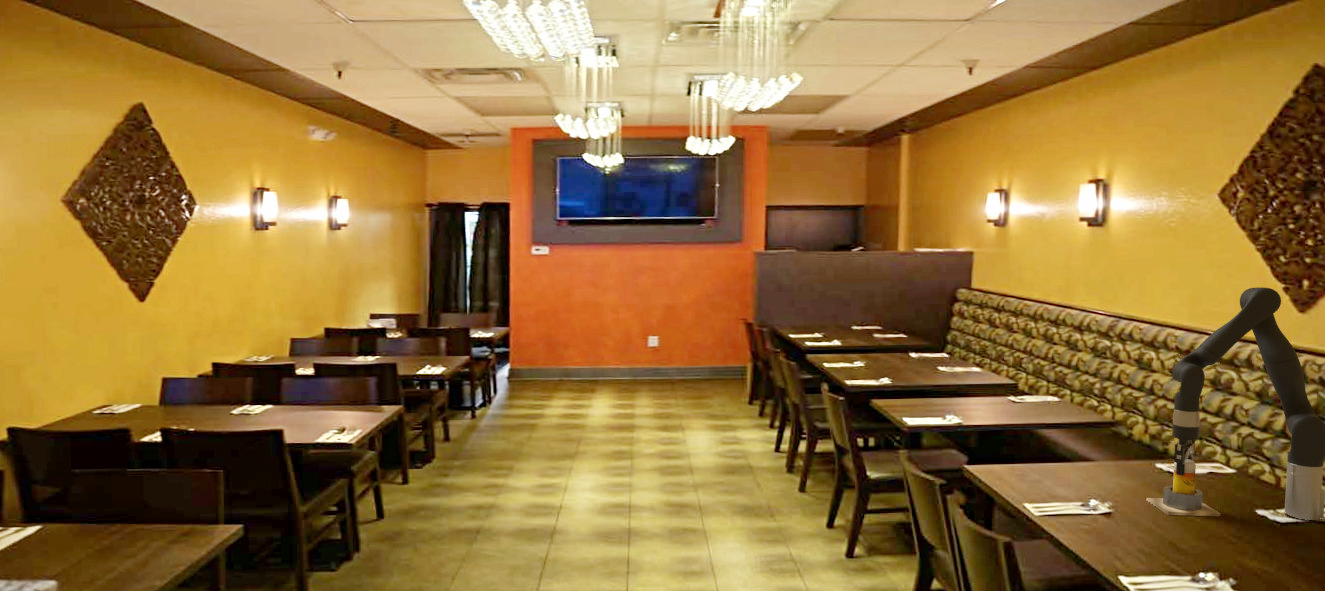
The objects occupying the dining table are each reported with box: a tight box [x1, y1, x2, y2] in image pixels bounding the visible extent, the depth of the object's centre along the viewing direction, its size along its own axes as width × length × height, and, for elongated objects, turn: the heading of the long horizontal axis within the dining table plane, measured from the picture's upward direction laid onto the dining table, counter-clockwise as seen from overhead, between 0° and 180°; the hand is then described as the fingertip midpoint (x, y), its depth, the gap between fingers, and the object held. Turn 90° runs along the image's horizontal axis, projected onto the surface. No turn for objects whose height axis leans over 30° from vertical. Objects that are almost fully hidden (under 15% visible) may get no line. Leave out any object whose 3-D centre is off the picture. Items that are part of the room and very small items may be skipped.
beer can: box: [1172, 459, 1197, 494], centre depth 290 cm, size 6×6×15 cm
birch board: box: [1146, 497, 1221, 517], centre depth 290 cm, size 16×15×1 cm
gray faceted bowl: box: [1162, 485, 1204, 511], centre depth 290 cm, size 11×11×5 cm
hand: (1183, 472), depth 289 cm, fingers open, 8 cm apart
